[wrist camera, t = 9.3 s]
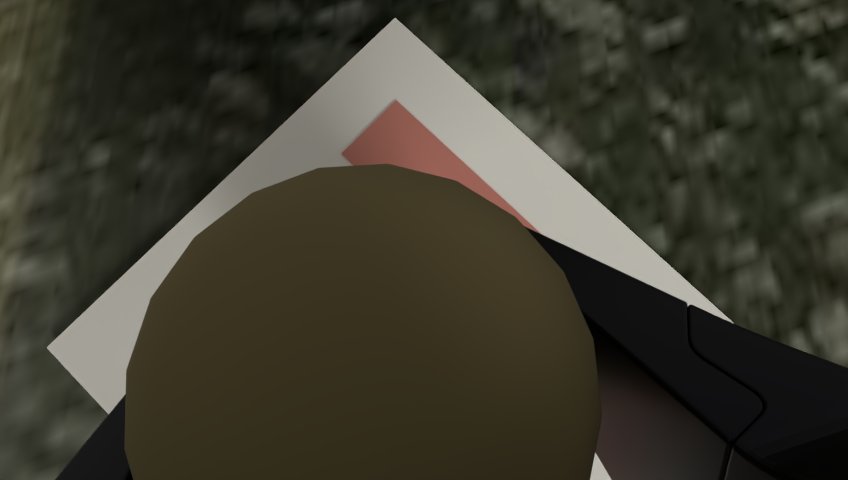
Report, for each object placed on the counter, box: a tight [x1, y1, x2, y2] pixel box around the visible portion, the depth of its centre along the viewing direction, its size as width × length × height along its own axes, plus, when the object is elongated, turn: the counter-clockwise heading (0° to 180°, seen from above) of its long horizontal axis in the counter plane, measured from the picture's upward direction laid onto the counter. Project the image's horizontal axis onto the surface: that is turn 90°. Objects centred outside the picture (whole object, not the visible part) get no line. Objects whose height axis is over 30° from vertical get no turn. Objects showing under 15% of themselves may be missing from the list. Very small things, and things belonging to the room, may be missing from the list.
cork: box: [124, 164, 602, 480], centre depth 10 cm, size 6×6×11 cm
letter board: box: [47, 18, 733, 480], centre depth 20 cm, size 18×18×1 cm
